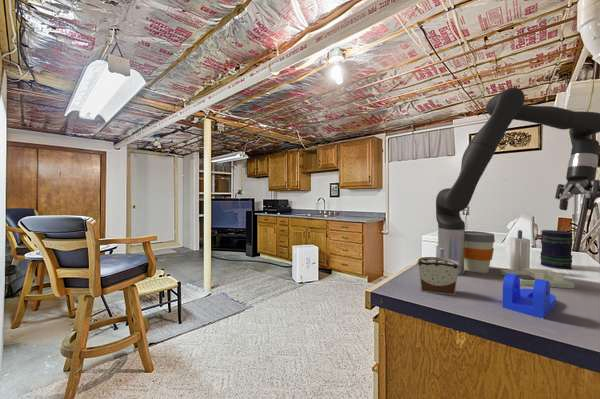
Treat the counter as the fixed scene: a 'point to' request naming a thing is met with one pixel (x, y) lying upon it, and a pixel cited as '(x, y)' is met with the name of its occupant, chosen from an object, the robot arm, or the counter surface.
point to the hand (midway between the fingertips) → (575, 209)
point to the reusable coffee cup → (478, 251)
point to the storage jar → (556, 249)
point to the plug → (519, 253)
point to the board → (540, 277)
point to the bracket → (527, 297)
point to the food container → (438, 274)
